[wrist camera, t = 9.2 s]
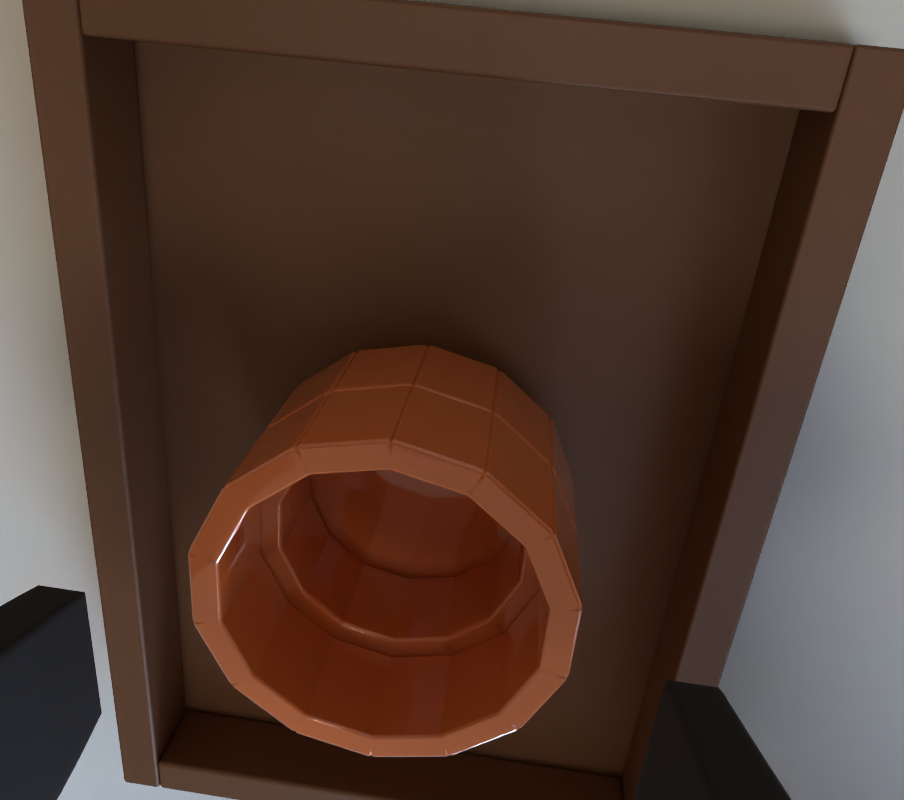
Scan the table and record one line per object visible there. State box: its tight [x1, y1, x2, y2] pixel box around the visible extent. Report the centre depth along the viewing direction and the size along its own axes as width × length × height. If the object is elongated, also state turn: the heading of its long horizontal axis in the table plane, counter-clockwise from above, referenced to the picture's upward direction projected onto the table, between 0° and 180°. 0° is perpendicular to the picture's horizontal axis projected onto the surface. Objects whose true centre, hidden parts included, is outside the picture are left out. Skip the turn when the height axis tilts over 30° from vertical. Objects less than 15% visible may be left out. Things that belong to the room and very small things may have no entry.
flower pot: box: [188, 345, 583, 757], centre depth 12 cm, size 6×6×4 cm
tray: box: [22, 0, 904, 800], centre depth 14 cm, size 12×16×2 cm
